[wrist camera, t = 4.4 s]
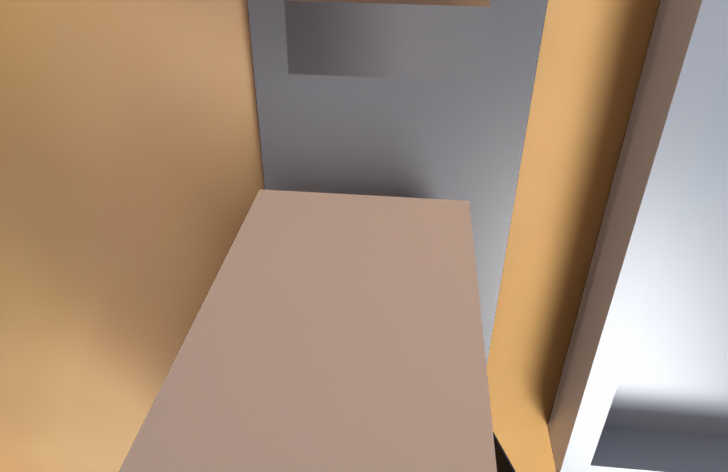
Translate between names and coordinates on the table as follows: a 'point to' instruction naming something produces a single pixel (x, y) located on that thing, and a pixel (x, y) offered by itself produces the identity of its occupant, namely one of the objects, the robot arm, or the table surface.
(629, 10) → the table surface
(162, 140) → the table surface
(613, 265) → the tray
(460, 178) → the clip block
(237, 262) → the block
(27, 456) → the table surface
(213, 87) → the table surface
